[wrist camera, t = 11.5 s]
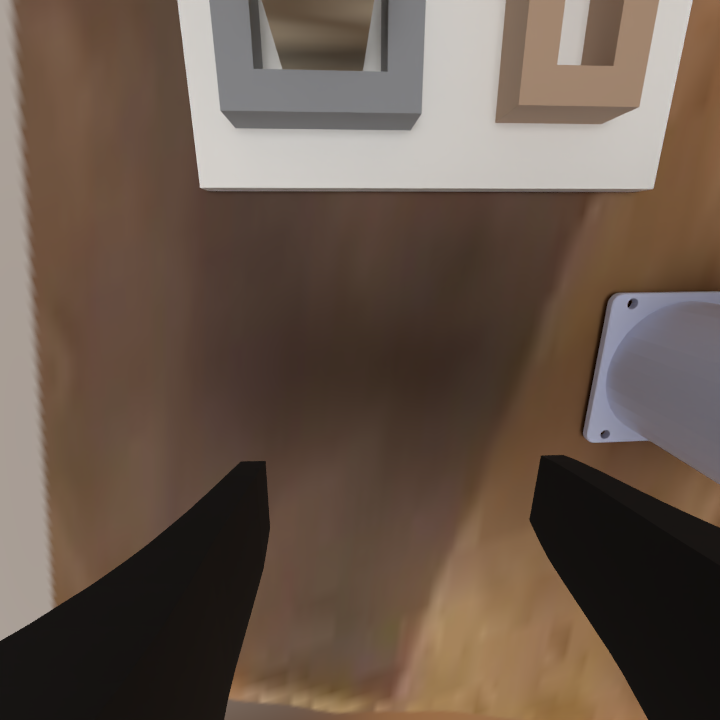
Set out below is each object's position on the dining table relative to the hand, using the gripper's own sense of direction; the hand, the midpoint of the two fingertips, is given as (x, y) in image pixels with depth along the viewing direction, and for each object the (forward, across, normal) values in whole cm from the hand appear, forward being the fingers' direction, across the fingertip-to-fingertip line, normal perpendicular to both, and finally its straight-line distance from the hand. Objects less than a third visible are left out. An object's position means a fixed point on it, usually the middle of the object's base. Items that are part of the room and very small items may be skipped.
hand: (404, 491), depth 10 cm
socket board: (+10, -2, -14) cm, 17 cm away
